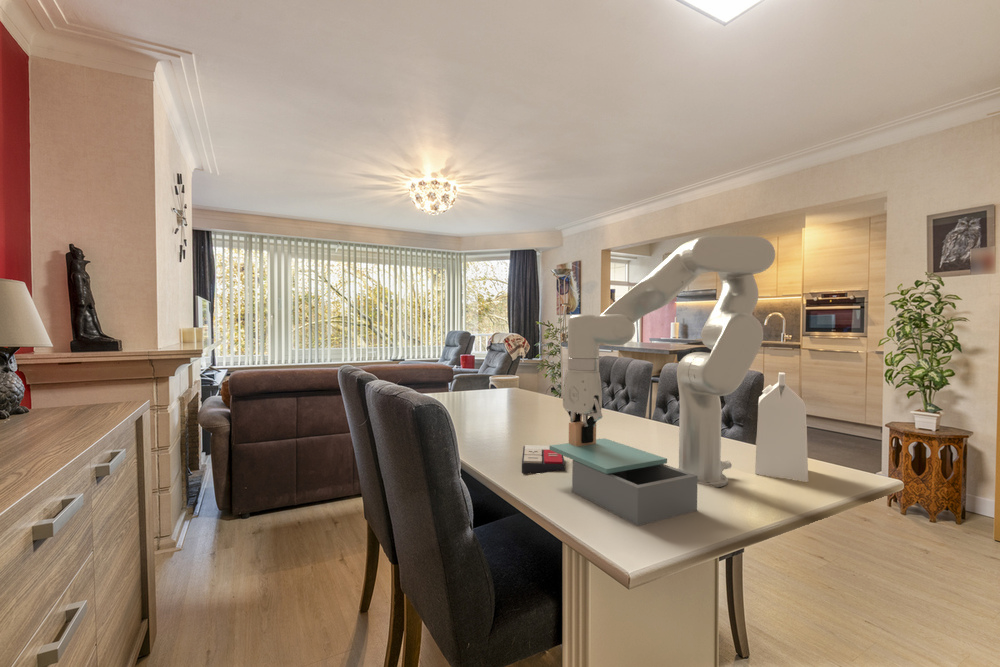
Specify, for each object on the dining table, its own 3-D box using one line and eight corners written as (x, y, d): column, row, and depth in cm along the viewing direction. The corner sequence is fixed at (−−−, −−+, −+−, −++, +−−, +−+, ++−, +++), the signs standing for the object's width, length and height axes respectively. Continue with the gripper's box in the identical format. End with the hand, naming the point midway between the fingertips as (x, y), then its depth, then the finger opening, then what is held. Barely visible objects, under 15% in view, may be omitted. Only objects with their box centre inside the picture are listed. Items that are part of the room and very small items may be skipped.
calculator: (521, 460, 119) (523, 443, 134) (521, 476, 120) (523, 457, 134) (564, 461, 118) (561, 444, 133) (564, 478, 119) (561, 458, 134)
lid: (604, 442, 119) (604, 418, 119) (667, 463, 101) (667, 435, 101) (549, 449, 111) (549, 424, 111) (606, 473, 93) (606, 444, 93)
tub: (626, 485, 111) (627, 451, 111) (697, 515, 93) (697, 475, 93) (572, 495, 104) (572, 460, 104) (637, 531, 86) (637, 487, 86)
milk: (808, 482, 115) (810, 376, 114) (754, 474, 120) (756, 373, 120) (804, 469, 125) (806, 372, 125) (755, 462, 131) (757, 370, 130)
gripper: (551, 363, 119) (550, 435, 119) (592, 368, 104) (591, 450, 104) (575, 362, 122) (574, 432, 122) (618, 367, 108) (617, 446, 108)
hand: (582, 440), depth 113 cm, fingers closed on lid, 3 cm apart
